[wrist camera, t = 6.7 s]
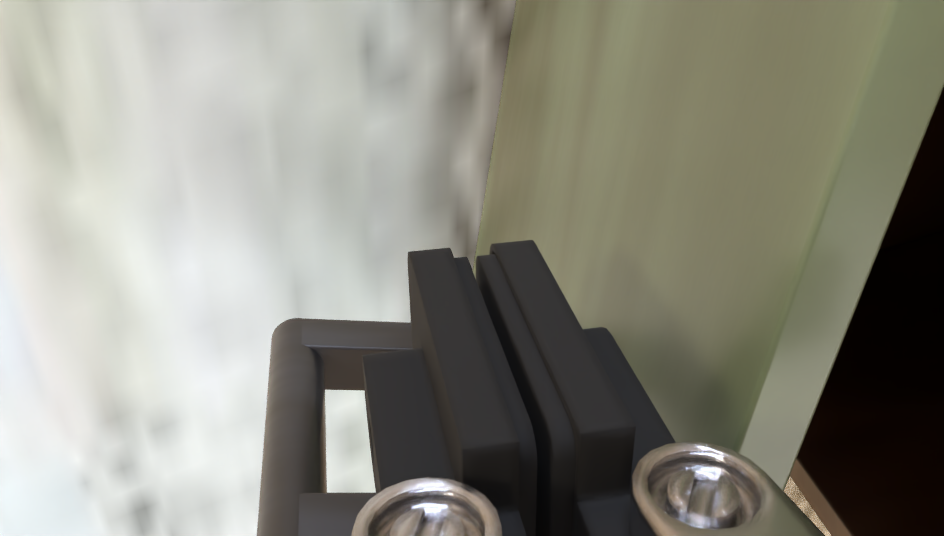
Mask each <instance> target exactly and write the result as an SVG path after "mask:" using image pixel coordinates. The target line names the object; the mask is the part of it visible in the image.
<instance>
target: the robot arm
mask: <svg viewBox="0 0 944 536" xmlns="http://www.w3.org/2000/svg"><path fill="white" fill-rule="evenodd" d="M408 276H409V294H410V312H411V329H412V347H413V349H406V350H398V351H389V352H380V353H372V354H363V355H362V365H363V377H364V388H365V399H366V410H367V420H368V430H369V439H370V448H371V457H372V465H373V473H374V481H375V488H376V495H375V496H374V497H372V498H371V499H369V501H368V502H367V503H366V504H365V506H364V507H363V508H362V509H361V511H360V512H359V513H358V515H357V517H356V520H355V524H354V527H353V530H352V535H351V536H825V535H824V534H823V533H822V532H821V531H820V530H819V529H818V528H817V527H816V526H815V525H814V523H813V522H812V521H811V520H810V519H809V518H808V517H807V516H806V515H805V514H804V513H803V512H802V511H801V510H800V509H799V507H798V506H797V505H796V504H795V503H794V502H793V501H792V500H791V499H790V498H789V497H788V496H787V495H786V494H785V493H784V491H783V490H782V489H781V488H780V487H779V486H778V485H777V484H776V483H775V482H774V481H773V480H772V479H771V478H770V477H769V475H768V474H767V473H766V472H765V471H764V470H762V469H761V468H760V467H759V466H758V465H756V464H755V463H754V462H753V461H751V460H750V459H749V458H747V457H745V456H743V455H741V454H739V453H737V452H735V451H733V450H731V449H729V448H725V447H722V446H718V445H714V444H711V443H703V442H690V441H686V442H678V443H676V442H675V440H674V438H673V437H672V435H671V433H670V432H669V430H668V428H667V427H666V425H665V423H664V422H663V420H662V418H661V417H660V415H659V413H658V412H657V410H656V408H655V406H654V405H653V403H652V401H651V400H650V398H649V396H648V395H647V393H646V391H645V390H644V388H643V386H642V385H641V383H640V381H639V380H638V378H637V376H636V375H635V373H634V371H633V370H632V368H631V366H630V365H629V363H628V361H627V360H626V358H625V356H624V355H623V353H622V351H621V349H620V348H619V346H618V344H617V343H616V341H615V339H614V338H613V336H612V334H611V333H610V332H609V331H608V330H607V328H604V327H597V328H588V329H582V327H581V325H580V324H579V322H578V320H577V318H576V316H575V314H574V313H573V311H572V309H571V307H570V305H569V304H568V302H567V300H566V298H565V296H564V294H563V293H562V291H561V289H560V287H559V285H558V283H557V282H556V280H555V278H554V276H553V274H552V273H551V271H550V269H549V267H548V265H547V263H546V262H545V260H544V258H543V256H542V254H541V253H540V251H539V249H538V247H537V245H536V243H535V242H534V241H533V240H524V241H514V242H504V243H494V244H491V246H490V252H489V255H481V256H477V258H476V279H475V276H474V274H473V271H472V268H471V266H470V263H469V261H468V258H467V257H460V258H454V257H453V254H452V252H451V249H450V248H443V249H433V250H422V251H412V252H408Z"/></svg>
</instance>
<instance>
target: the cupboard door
mask: <svg viewBox="0 0 944 536" xmlns="http://www.w3.org/2000/svg"><path fill="white" fill-rule="evenodd" d="M943 87H944V0H516V6H515V12H514V18H513V24H512V31H511V37H510V43H509V49H508V55H507V62H506V68H505V74H504V80H503V86H502V93H501V99H500V105H499V111H498V117H497V124H496V130H495V136H494V142H493V148H492V155H491V161H490V167H489V173H488V179H487V186H486V192H485V198H484V204H483V210H482V217H481V223H480V229H479V235H478V241H477V248H476V254H475V260H474V266H473V274H474V276H475V279H476V258H477V256H481V255H489V252H490V246H491V244H494V243H504V242H514V241H524V240H533V241H534V242H535V243H536V245H537V247H538V249H539V251H540V253H541V254H542V256H543V258H544V260H545V262H546V263H547V265H548V267H549V269H550V271H551V273H552V274H553V276H554V278H555V280H556V282H557V283H558V285H559V287H560V289H561V291H562V293H563V294H564V296H565V298H566V300H567V302H568V304H569V305H570V307H571V309H572V311H573V313H574V314H575V316H576V318H577V320H578V322H579V324H580V325H581V327H582V329H588V328H597V327H604V328H607V330H608V331H609V332H610V333H611V334H612V336H613V338H614V339H615V341H616V343H617V344H618V346H619V348H620V349H621V351H622V353H623V355H624V356H625V358H626V360H627V361H628V363H629V365H630V366H631V368H632V370H633V371H634V373H635V375H636V376H637V378H638V380H639V381H640V383H641V385H642V386H643V388H644V390H645V391H646V393H647V395H648V396H649V398H650V400H651V401H652V403H653V405H654V406H655V408H656V410H657V412H658V413H659V415H660V417H661V418H662V420H663V422H664V423H665V425H666V427H667V428H668V430H669V432H670V433H671V435H672V437H673V438H674V440H675V442H676V443H678V442H686V441H690V442H703V443H711V444H714V445H718V446H722V447H725V448H729V449H731V450H733V451H735V452H737V453H739V454H741V455H743V456H745V457H747V458H749V459H750V460H751V461H753V462H754V463H755V464H756V465H758V466H759V467H760V468H761V469H762V470H764V471H765V472H766V473H767V474H768V475H769V477H770V478H771V479H772V480H773V481H774V482H775V483H776V484H777V485H778V486H779V487H780V488H781V489H782V490H783V491H784V489H785V486H786V484H787V481H788V479H789V476H790V474H791V471H792V469H793V466H794V463H795V461H796V458H797V456H798V453H799V451H800V448H801V446H802V443H803V441H804V438H805V436H806V433H807V431H808V428H809V426H810V423H811V421H812V418H813V415H814V413H815V410H816V408H817V405H818V403H819V400H820V398H821V395H822V393H823V390H824V388H825V385H826V383H827V380H828V378H829V375H830V373H831V370H832V368H833V365H834V362H835V360H836V357H837V355H838V352H839V350H840V347H841V345H842V342H843V340H844V337H845V335H846V332H847V330H848V327H849V325H850V322H851V320H852V317H853V314H854V312H855V309H856V307H857V304H858V302H859V299H860V297H861V294H862V292H863V289H864V287H865V284H866V282H867V279H868V277H869V274H870V272H871V269H872V266H873V264H874V261H875V259H876V256H877V254H878V251H879V249H880V246H881V244H882V241H883V239H884V236H885V234H886V231H887V229H888V226H889V224H890V221H891V218H892V216H893V213H894V211H895V208H896V206H897V203H898V201H899V198H900V196H901V193H902V191H903V188H904V186H905V183H906V181H907V178H908V176H909V173H910V171H911V168H912V165H913V163H914V160H915V158H916V155H917V153H918V150H919V148H920V145H921V143H922V140H923V138H924V135H925V133H926V130H927V128H928V125H929V123H930V120H931V117H932V115H933V112H934V110H935V107H936V105H937V102H938V100H939V97H940V95H941V92H942V90H943ZM406 349H413V347H412V329H411V323H403V322H377V321H351V320H325V319H302V318H294V319H289V320H286V321H284V322H283V323H281V324H280V325H279V326H278V327H277V328H276V329H275V331H274V332H273V335H272V342H271V355H270V368H269V382H268V395H267V408H266V421H265V435H264V448H263V461H262V475H261V488H260V501H259V514H258V528H257V536H351V535H352V530H353V527H354V524H355V520H356V517H357V515H358V513H359V512H360V511H361V509H362V508H363V507H364V506H365V504H366V503H367V502H368V501H369V499H371V498H372V497H374V496H375V495H376V493H327V480H326V428H325V389H328V390H365V388H364V377H363V365H362V355H363V354H372V353H380V352H389V351H398V350H406Z"/></svg>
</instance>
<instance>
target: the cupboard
mask: <svg viewBox="0 0 944 536" xmlns="http://www.w3.org/2000/svg"><path fill="white" fill-rule="evenodd" d="M790 476H791V478H792V479H793V481H794V482H795V484H796V485H797V487H798V488H799V489H800V491H801V492H802V494H803V495H804V497H805V498H806V500H807V501H808V502H809V504H810V505H811V507H812V508H813V510H814V511H815V513H816V514H817V515H818V517H819V518H820V520H821V521H822V523H823V524H824V526H825V527H826V528H827V530H828V531H829V533H830V534H831V536H944V87H943V90H942V92H941V95H940V97H939V100H938V102H937V105H936V107H935V110H934V112H933V115H932V117H931V120H930V123H929V125H928V128H927V130H926V133H925V135H924V138H923V140H922V143H921V145H920V148H919V150H918V153H917V155H916V158H915V160H914V163H913V165H912V168H911V171H910V173H909V176H908V178H907V181H906V183H905V186H904V188H903V191H902V193H901V196H900V198H899V201H898V203H897V206H896V208H895V211H894V213H893V216H892V218H891V221H890V224H889V226H888V229H887V231H886V234H885V236H884V239H883V241H882V244H881V246H880V249H879V251H878V254H877V256H876V259H875V261H874V264H873V266H872V269H871V272H870V274H869V277H868V279H867V282H866V284H865V287H864V289H863V292H862V294H861V297H860V299H859V302H858V304H857V307H856V309H855V312H854V314H853V317H852V320H851V322H850V325H849V327H848V330H847V332H846V335H845V337H844V340H843V342H842V345H841V347H840V350H839V352H838V355H837V357H836V360H835V362H834V365H833V368H832V370H831V373H830V375H829V378H828V380H827V383H826V385H825V388H824V390H823V393H822V395H821V398H820V400H819V403H818V405H817V408H816V410H815V413H814V415H813V418H812V421H811V423H810V426H809V428H808V431H807V433H806V436H805V438H804V441H803V443H802V446H801V448H800V451H799V453H798V456H797V458H796V461H795V463H794V466H793V469H792V471H791V474H790Z"/></svg>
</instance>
